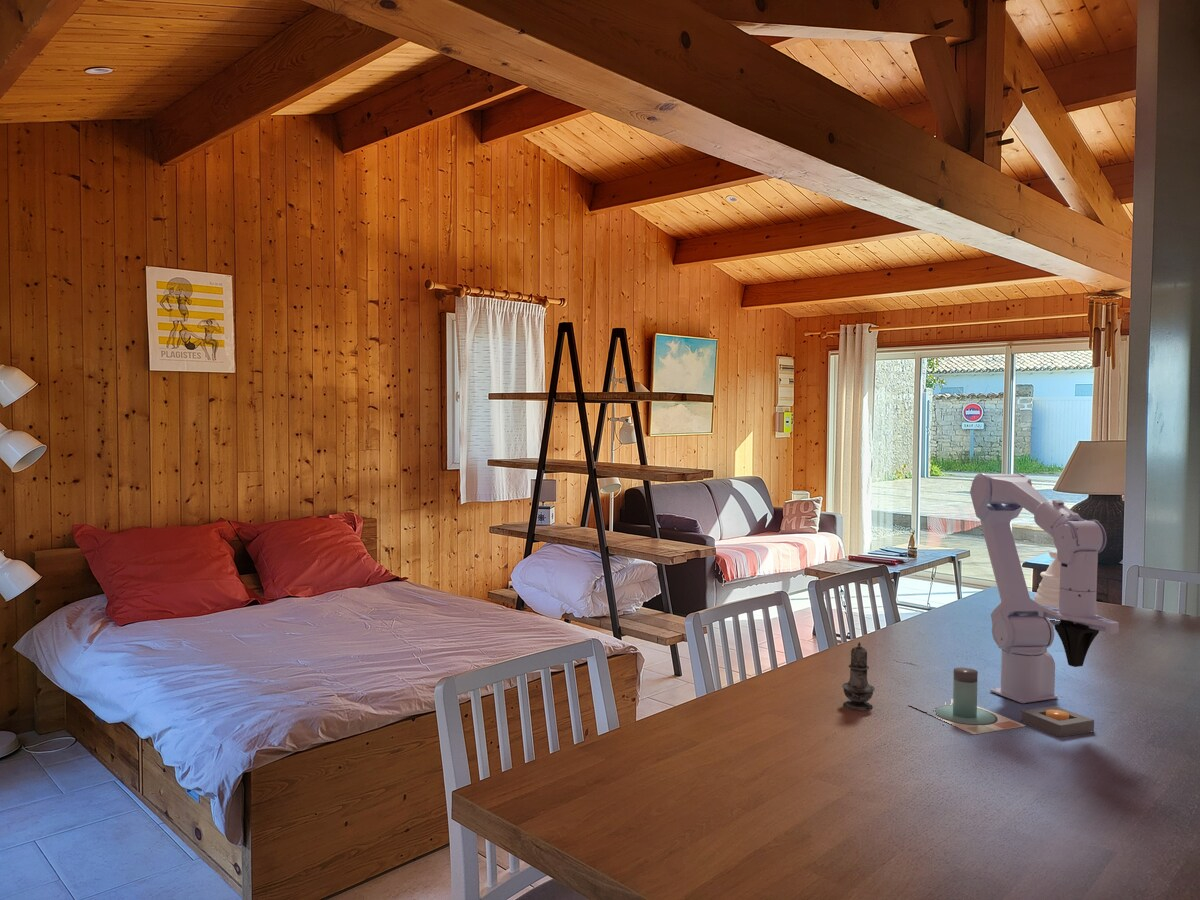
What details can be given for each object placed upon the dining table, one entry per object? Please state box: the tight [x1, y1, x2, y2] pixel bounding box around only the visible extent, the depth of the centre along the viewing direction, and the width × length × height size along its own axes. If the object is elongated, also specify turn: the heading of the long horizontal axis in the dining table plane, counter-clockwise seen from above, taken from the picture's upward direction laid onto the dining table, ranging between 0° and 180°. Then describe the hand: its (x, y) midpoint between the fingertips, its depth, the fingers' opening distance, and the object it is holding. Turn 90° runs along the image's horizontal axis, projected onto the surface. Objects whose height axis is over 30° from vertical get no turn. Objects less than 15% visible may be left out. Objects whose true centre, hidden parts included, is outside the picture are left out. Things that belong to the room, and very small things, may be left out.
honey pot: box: [1033, 550, 1060, 619], centre depth 239 cm, size 13×13×18 cm
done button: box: [1046, 710, 1069, 721], centre depth 153 cm, size 4×4×2 cm
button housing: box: [1020, 705, 1095, 738], centre depth 153 cm, size 8×8×2 cm
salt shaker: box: [841, 641, 876, 712], centre depth 162 cm, size 6×6×12 cm
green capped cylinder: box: [952, 667, 979, 718], centre depth 158 cm, size 4×4×8 cm
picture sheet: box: [933, 698, 1027, 735], centre depth 158 cm, size 12×16×1 cm
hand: (1075, 665), depth 154 cm, fingers closed
